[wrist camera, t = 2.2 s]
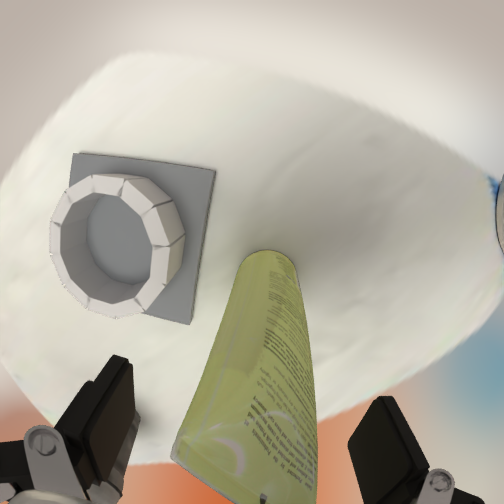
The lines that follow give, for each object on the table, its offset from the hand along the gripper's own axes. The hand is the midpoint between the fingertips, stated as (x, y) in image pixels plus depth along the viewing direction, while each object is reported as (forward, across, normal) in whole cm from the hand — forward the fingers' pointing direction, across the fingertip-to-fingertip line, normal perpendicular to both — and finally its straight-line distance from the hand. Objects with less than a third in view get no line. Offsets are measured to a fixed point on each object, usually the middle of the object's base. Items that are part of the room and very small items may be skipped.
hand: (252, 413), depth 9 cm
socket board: (+15, +11, -1) cm, 19 cm away
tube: (+15, -1, 0) cm, 15 cm away
